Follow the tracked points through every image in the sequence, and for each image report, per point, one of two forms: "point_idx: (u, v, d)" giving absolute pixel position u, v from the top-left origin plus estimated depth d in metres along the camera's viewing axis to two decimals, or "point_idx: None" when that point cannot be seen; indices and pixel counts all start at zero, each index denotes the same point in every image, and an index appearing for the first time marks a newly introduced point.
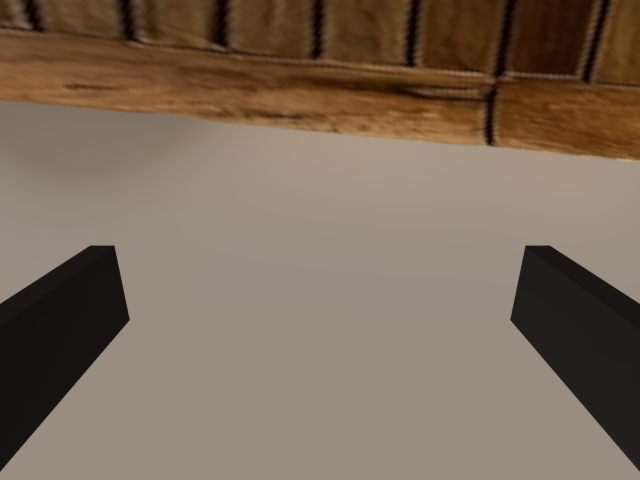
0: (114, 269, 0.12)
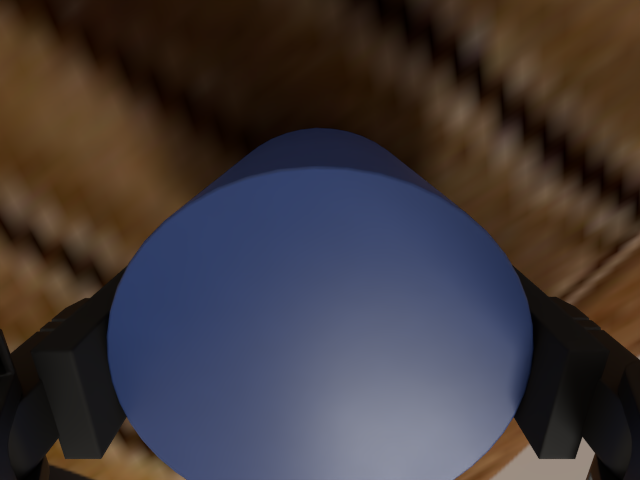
0: None
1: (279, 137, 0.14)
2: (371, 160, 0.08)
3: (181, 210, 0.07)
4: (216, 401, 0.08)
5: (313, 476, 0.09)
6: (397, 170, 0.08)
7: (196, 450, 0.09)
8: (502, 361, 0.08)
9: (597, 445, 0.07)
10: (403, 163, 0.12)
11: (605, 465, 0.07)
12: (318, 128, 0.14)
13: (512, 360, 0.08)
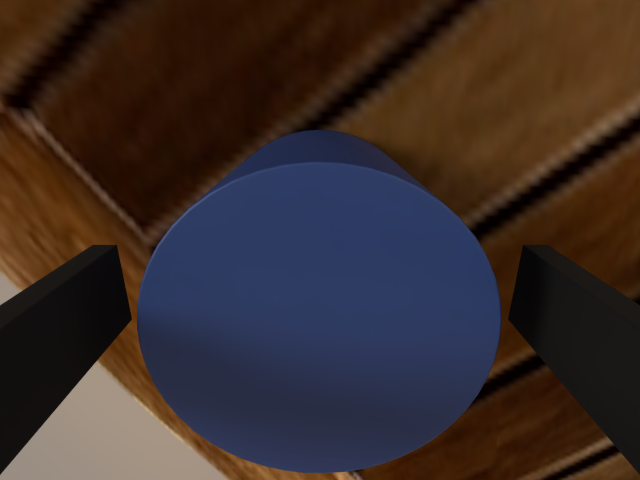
0: (116, 268, 0.12)
1: (282, 138, 0.15)
2: (362, 157, 0.09)
3: (203, 199, 0.08)
4: (229, 365, 0.10)
5: (313, 434, 0.11)
6: (384, 166, 0.09)
7: (211, 410, 0.10)
8: (475, 329, 0.09)
9: None
10: (393, 161, 0.13)
11: None
12: (317, 130, 0.16)
13: (483, 328, 0.09)
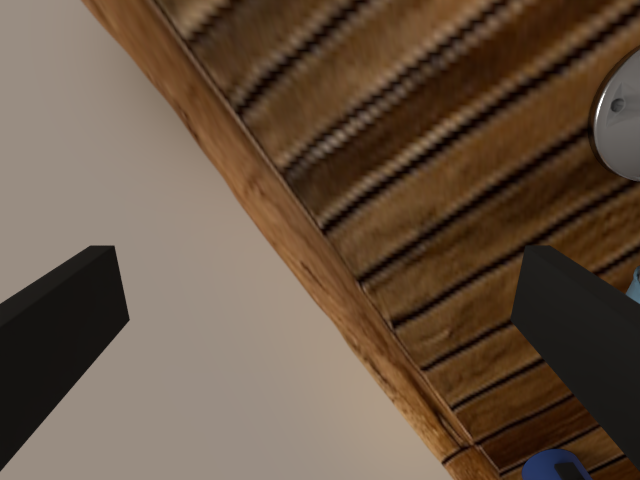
0: (114, 269, 0.12)
1: (550, 456, 0.59)
2: None
3: None
4: None
5: None
6: None
7: None
8: None
9: None
10: (585, 472, 0.57)
11: None
12: (556, 449, 0.60)
13: None
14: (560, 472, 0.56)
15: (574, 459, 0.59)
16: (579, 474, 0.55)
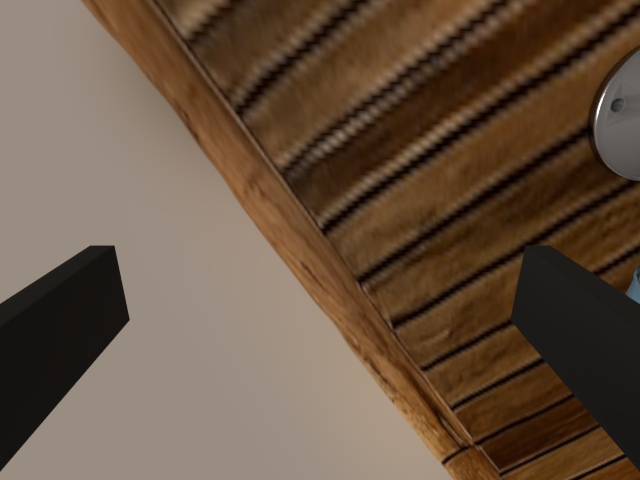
0: (114, 269, 0.12)
1: None
2: None
3: None
4: None
5: None
6: None
7: None
8: None
9: None
10: None
11: None
12: None
13: None
14: None
15: None
16: None
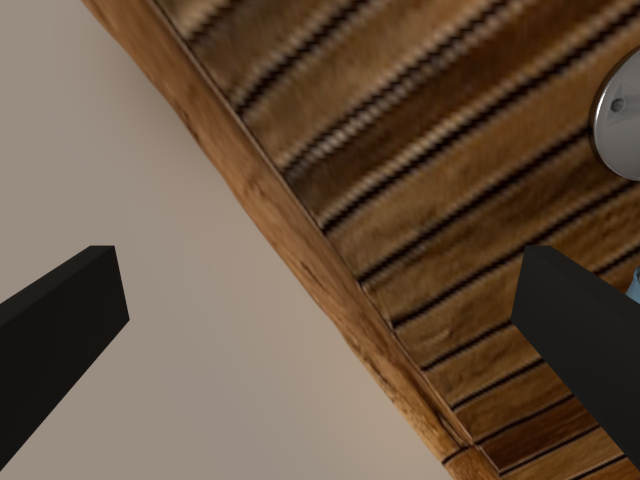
0: (114, 269, 0.12)
1: None
2: None
3: None
4: None
5: None
6: None
7: None
8: None
9: None
10: None
11: None
12: None
13: None
14: None
15: None
16: None
